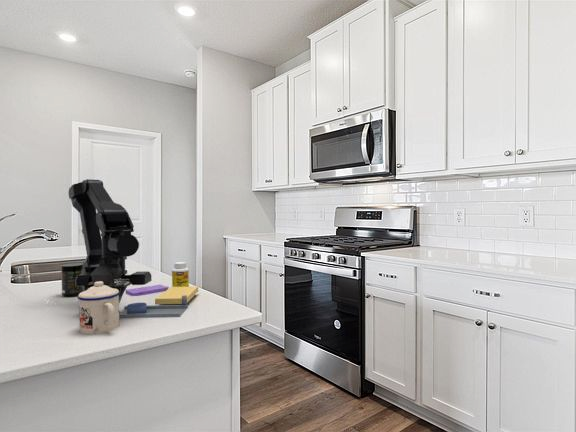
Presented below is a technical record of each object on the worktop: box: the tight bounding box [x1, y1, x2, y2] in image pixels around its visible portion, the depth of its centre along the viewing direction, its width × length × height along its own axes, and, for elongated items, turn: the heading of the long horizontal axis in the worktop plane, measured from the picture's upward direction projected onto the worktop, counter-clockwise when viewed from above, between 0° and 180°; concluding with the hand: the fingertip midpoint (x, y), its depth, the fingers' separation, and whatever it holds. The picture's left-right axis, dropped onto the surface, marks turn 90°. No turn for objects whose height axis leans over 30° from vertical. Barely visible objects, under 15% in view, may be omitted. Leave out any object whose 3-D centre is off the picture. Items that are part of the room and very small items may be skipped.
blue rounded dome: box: [126, 302, 147, 314], centre depth 103 cm, size 5×5×2 cm
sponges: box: [125, 284, 170, 297], centre depth 131 cm, size 7×13×2 cm, turn 132°
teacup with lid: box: [77, 281, 120, 335], centre depth 90 cm, size 12×9×12 cm
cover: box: [154, 285, 199, 305], centre depth 116 cm, size 17×9×2 cm, turn 1°
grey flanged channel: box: [119, 304, 189, 319], centre depth 103 cm, size 18×9×1 cm, turn 91°
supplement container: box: [60, 262, 84, 298], centre depth 127 cm, size 7×7×10 cm
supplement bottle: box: [171, 261, 190, 287], centre depth 130 cm, size 6×6×10 cm
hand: (115, 309), depth 103 cm, fingers closed
